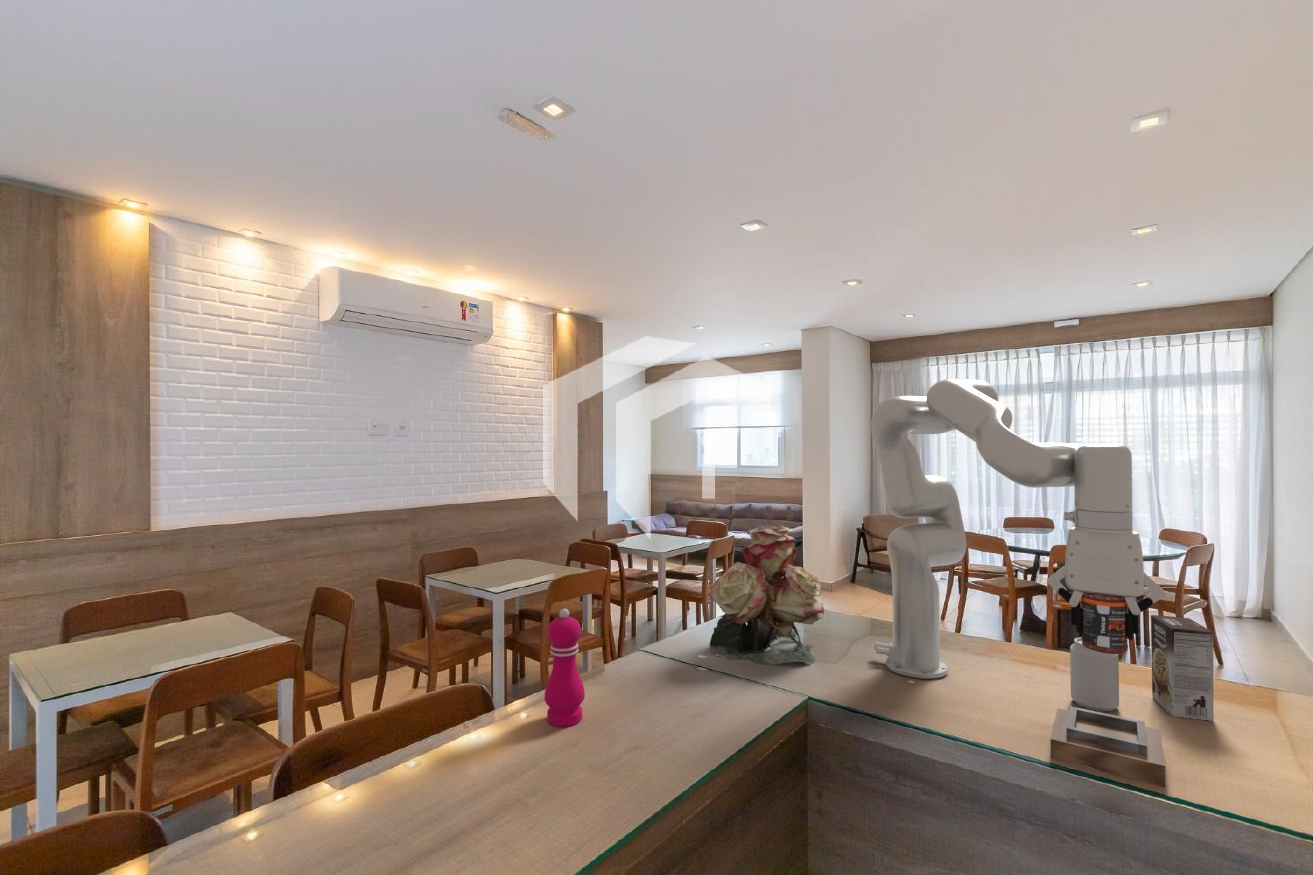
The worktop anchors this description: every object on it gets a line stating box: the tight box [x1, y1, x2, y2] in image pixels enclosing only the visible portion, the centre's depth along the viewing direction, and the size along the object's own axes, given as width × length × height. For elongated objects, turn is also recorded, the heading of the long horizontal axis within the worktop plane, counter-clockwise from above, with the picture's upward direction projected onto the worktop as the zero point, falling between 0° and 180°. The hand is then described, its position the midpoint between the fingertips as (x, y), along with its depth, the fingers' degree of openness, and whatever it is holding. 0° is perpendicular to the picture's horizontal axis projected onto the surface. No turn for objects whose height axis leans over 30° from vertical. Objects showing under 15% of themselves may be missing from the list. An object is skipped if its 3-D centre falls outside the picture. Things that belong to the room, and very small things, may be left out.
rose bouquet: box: [708, 524, 825, 666], centre depth 150 cm, size 26×29×30 cm
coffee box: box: [1150, 614, 1215, 722], centre depth 115 cm, size 9×6×16 cm
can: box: [1069, 636, 1120, 713], centre depth 117 cm, size 8×8×12 cm
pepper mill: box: [544, 608, 586, 728], centre depth 112 cm, size 7×7×20 cm
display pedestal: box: [1050, 706, 1167, 788], centre depth 99 cm, size 14×14×4 cm
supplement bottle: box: [1081, 592, 1128, 655], centre depth 99 cm, size 6×6×11 cm
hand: (1104, 632), depth 99 cm, fingers closed on supplement bottle, 5 cm apart
